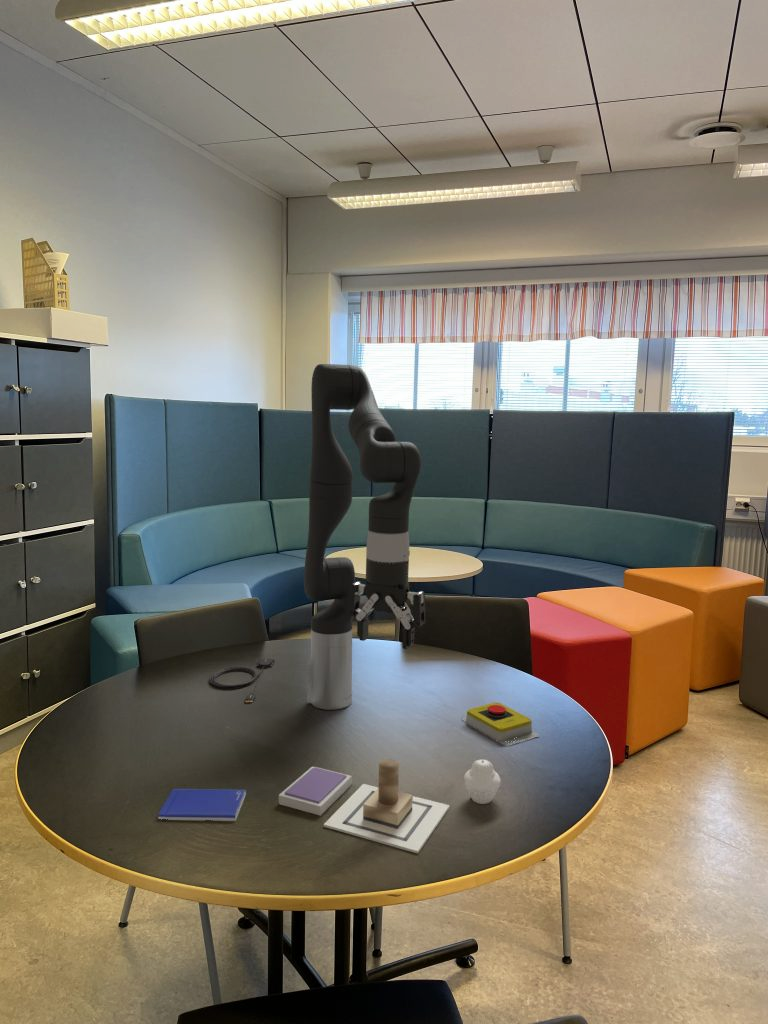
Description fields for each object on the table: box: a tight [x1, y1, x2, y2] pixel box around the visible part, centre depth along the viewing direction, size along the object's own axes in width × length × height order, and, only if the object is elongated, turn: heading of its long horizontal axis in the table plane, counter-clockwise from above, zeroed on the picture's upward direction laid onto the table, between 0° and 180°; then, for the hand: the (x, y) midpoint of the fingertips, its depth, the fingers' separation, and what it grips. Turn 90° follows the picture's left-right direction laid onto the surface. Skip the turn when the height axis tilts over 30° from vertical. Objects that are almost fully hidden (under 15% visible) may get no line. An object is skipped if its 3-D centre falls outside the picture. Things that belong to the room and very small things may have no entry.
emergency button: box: [461, 702, 540, 746], centre depth 148 cm, size 9×4×15 cm
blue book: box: [157, 788, 247, 822], centre depth 117 cm, size 2×8×12 cm
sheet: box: [323, 783, 451, 854], centre depth 114 cm, size 16×14×1 cm
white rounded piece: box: [463, 759, 502, 805], centre depth 120 cm, size 6×6×7 cm
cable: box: [209, 658, 276, 704], centre depth 174 cm, size 14×28×2 cm, turn 178°
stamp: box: [363, 759, 413, 829], centre depth 114 cm, size 6×6×9 cm
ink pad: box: [278, 766, 353, 816], centre depth 121 cm, size 8×11×2 cm
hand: (385, 643), depth 127 cm, fingers open, 8 cm apart
